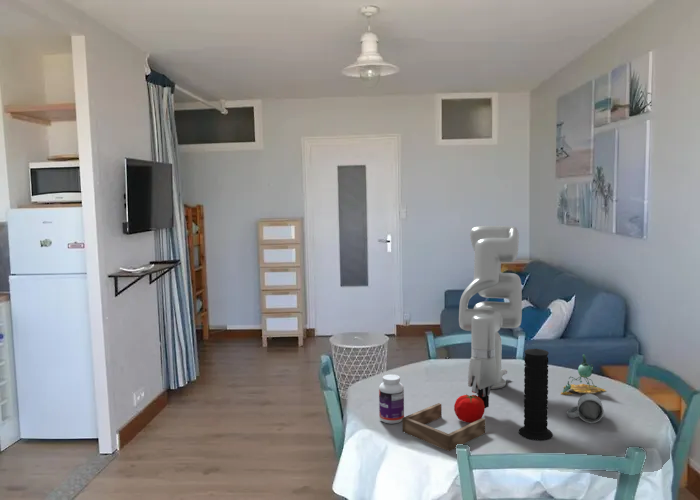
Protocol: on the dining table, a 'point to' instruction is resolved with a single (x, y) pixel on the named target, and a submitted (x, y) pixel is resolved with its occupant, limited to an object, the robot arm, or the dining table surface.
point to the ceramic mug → (587, 409)
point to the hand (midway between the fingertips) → (483, 406)
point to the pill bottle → (391, 399)
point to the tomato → (469, 408)
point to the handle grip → (536, 396)
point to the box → (446, 441)
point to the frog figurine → (584, 372)
